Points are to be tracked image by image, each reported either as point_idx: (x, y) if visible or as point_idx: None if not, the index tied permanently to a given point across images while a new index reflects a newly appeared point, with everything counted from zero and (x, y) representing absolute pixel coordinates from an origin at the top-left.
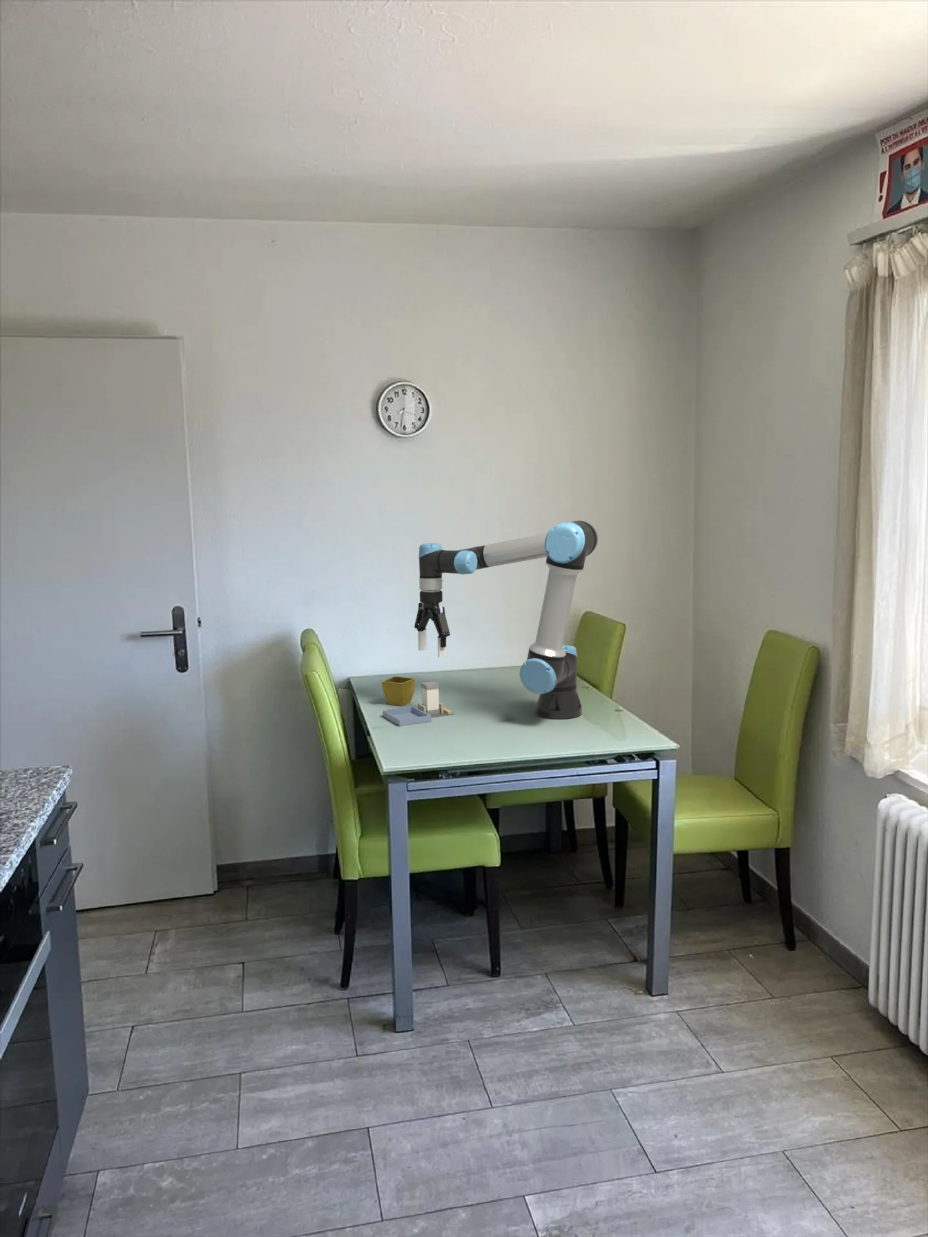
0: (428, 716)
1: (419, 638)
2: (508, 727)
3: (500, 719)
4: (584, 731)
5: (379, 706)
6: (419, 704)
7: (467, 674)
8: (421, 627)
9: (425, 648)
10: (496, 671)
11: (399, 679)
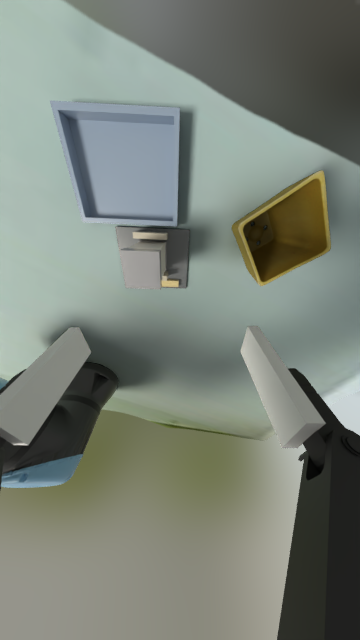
0: (81, 214)
1: (276, 374)
2: (40, 316)
3: (85, 326)
4: (14, 365)
5: (282, 178)
6: (158, 234)
7: None
8: (320, 479)
9: (243, 352)
10: None
11: (305, 256)
